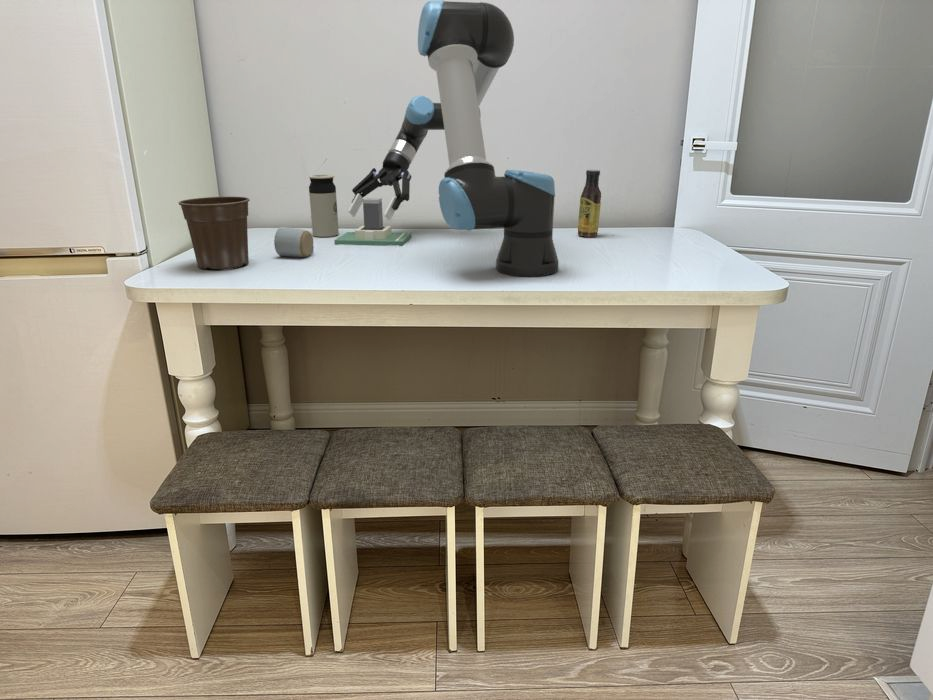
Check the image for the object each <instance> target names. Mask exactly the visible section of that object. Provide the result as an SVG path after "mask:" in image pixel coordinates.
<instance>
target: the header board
mask: <svg viewBox="0 0 933 700" xmlns="http://www.w3.org/2000/svg"><path fill="white" fill-rule="evenodd" d="M411 238H412V232H393V230H392V225H383V230H364V224H363V225H361V226H359V227H358V228H357V229H355V231H347V232H344V234H341V235H340V236H339V237H337V238H335V239H334V241H333V242H334V245H339V244H355V245H354V246H387V245H399V246H398V247H403V246H404V245H405V244H406V243H407V242H408V241H409V240H410V239H411ZM356 244H357V245H356Z"/></svg>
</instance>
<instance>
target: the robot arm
mask: <svg viewBox="0 0 933 700" xmlns="http://www.w3.org/2000/svg"><path fill="white" fill-rule="evenodd" d="M514 45H515V34H514V29H513V27H512V23H511V21H510V20H509V17H508V16H507V15H506V14H505V12H504V11H503V10H502V9H501V8H500V7H498V6H496V5H495V4H492V3H489V2H481V1H480V2H473V1H470V2H469V1H445V0H429V1H426V3H425V4H424V5H423V7H422V9H421V13H420V17H419V23H418V32H417V50H418V52H419V55H420V56H422V57H427V62H428V65H429V67H430V68H431V69H432V70H433V71H435V72H436V78H437V85H438V93H439V99H440V102H433V101H432V100H431V99H430V98H429V97H426V96H425V95H415V96H413V97H412V98H411V99H410V100H409V103H408V104H407V107H406V109H405V115H404V118H403V121H402V124H401V128H399V129H400V130H399V132H398V134H397V135H396V137H395V139H394V141H393V142H392V145H391V147H390V148H389V149H388V152H387V154H386V156H385V157H384V159H383V161H382V167H381V169H379V170H378V169H376V168H375V167H373V168H372V169H371V171H370V172H369V173H368V174H367V175H366V176H365V177H364V178H363V179H361V181H359V182H358V184H356V185H355V186H354V187H353V188H352V189H351V191H352V193H353V194H354V197H353V199H352V200H351V205H350V206H349V208H348V210H347V211H348V213H349V214H350V215H351V216H352V217H354V218H355V217H356V215H357V213H358V211H359V210H360V208H361V205H363V199H364V197H366V196H367V195H369V194H370V193H372V192H373V191H375V190H376V189H378V188H381V187H383V186H385V187H386V186H390V187H392V186H393V187H392V188H393V191H394V196H392V198H391V199H390V202H389V203H388V206H387V207H386V209H385V211H384V213H383V215H384V216H383V217H384V218H386V220H387V221H391V220H392V218H393V216H394V214H395V212H396V211H398V210H399V208H400V206H401V205H402V204H401V203H403V202H404V201H405V202H408V201H409V200H410V187H411V186H410V184H411V183H410V181H411V180H412V175H411V173H410V172H409V168H410V165H411V164H412V162H413V161H414V158H415V157H416V155H417V152H418V151H419V149H420V148H421V145H422V143H423V141H424V140H425V138H426V137H427V134H428V131H440V130H441V131H442V130H443V131H444V136H445V143H446V149H447V157H448V162H449V163H448V165H449V166H448V168H447V169H446V170H445V171H444V173H443V174H444V178H442V179H441V180H440V181H439V184H438V196H439V197H438V202H439V207H440V212H441V215H442V217H443V220H444V221H445V223H446V224H447V225H448V227H450V228H451V229H453V230H457V231H460V230H461V231H464V230H466V231H474V230H485V229H486V230H487V229H490V230H491V229H503V239H502V242H501V245H500V248H499V251H498V254H497V257H496V259H495V260H496V261H495V269H496V271H497V272H499V273H502V274H505V275H510V276H517V277H539V276H540V277H542V276H550V275H553V274H556V273H558V271H559V258H558V253H557V251H556V247H555V243H554V239H553V232H554V215H555V214H554V213H555V212H554V211H555V197H556V191H555V189H556V187H555V180H554V178H553V176H551V175H549V174H545V173H539V172H533V171H525V170H518V169H506V170H505V171H504V174H503V176H496V172H495V166H494V164H492V163H490V162H489V161H488V160H487V155H486V149H485V141H484V135H483V129H482V122H481V109H480V105H481V103H482V102H483V99H484V98H485V96H486V94H487V93H488V90H489V88H490V87H491V84H492V83H493V81H494V78H495V77H496V75H497V73H498V72H499V69H500V68H502V67H504V66H505V65H506V64H507V63H508V61H509V60H510V57H511V55H512V54H513V51H514V50H513V49H514ZM399 181H401V185H400V182H399ZM400 187H401V188H400Z"/></svg>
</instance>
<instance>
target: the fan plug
mask: <svg viewBox="0 0 933 700" xmlns="http://www.w3.org/2000/svg"><path fill="white" fill-rule="evenodd" d="M362 206H363V208H362V209H363V225H364V230H383V226H384V218H383V217H384V216H383V215H384V214H383V198H382V197H366V198H363V202H362Z"/></svg>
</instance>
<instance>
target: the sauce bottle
mask: <svg viewBox="0 0 933 700" xmlns="http://www.w3.org/2000/svg"><path fill="white" fill-rule="evenodd" d="M585 171H586V172H585V176H586V178H585V179H586V180H585V185H584V187H583V189H582V193H581V195H580V199H579V210H578V221H577V222H578V223H577V235H578V236H579V237H582V236H585V237H584V238H594V237H593V236H596V237H597V236H598V232H599V224H600V212H601V204H602V203H601V200H602V192H601V189H600V187H599V180H600V179H599V178H600V176H601V170H600V169H590V168H589V169H586V170H585Z"/></svg>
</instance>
